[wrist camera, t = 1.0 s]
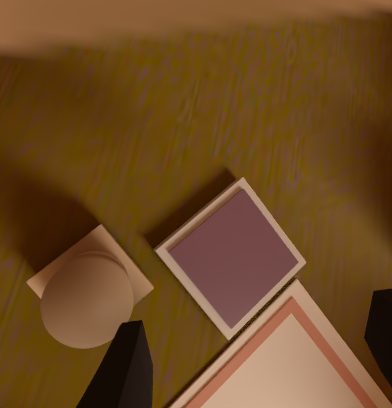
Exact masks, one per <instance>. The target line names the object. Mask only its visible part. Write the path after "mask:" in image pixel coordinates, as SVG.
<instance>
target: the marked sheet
mask: <svg viewBox="0 0 392 408" xmlns="http://www.w3.org/2000/svg"><path fill="white" fill-rule="evenodd" d="M168 408H392V404H391V403H390V402H389V400H388V399H387V398H386V396H385V395H384V394H383V392H382V391H381V390H380V388H379V387H378V386H377V384H376V383H375V382H374V380H373V379H372V378H371V376H370V375H369V374H368V372H367V371H366V370H365V368H364V367H363V366H362V364H361V363H360V362H359V360H358V359H357V358H356V356H355V355H354V354H353V352H352V351H351V350H350V349H349V347H348V346H347V345H346V343H345V342H344V341H343V339H342V338H341V337H340V335H339V334H338V333H337V331H336V330H335V329H334V327H333V326H332V325H331V323H330V322H329V321H328V319H327V318H326V317H325V315H324V314H323V313H322V311H321V310H320V309H319V307H318V306H317V305H316V303H315V302H314V301H313V299H312V298H311V297H310V295H309V294H308V293H307V291H306V290H305V289H304V287H303V286H302V285H301V284H300V282H299V281H298V280H297V279H295V280H294V281H293V282H292V283H291V284H290V285H289V286H288V287H287V288H286V289H285V290H284V291H283V292H282V293H281V294H280V295H279V296H278V297H277V298H276V299H275V300H274V301H273V302H272V303H271V304H270V305H269V306H268V307H267V308H266V309H265V310H264V311H263V312H262V313H261V314H260V315H259V316H258V317H257V318H256V319H255V320H254V321H253V322H252V323H251V324H250V325H249V326H248V327H247V328H246V329H245V330H244V331H243V332H242V333H241V335H240V336H239V337H238V338H237V339H236V340H235V341H234V342H233V343H232V344H231V345H230V346H229V347H228V348H227V349H226V350H225V351H224V352H223V353H222V354H221V355H220V356H219V357H218V358H217V359H216V360H215V361H214V362H213V363H212V364H211V365H210V366H209V367H208V368H207V369H206V370H205V371H204V372H203V373H202V374H201V375H200V376H199V377H198V378H197V379H196V380H195V381H194V382H193V383H192V384H191V385H190V386H189V387H188V388H187V389H186V390H185V391H184V392H183V393H182V394H181V395H180V396H179V397H178V398H177V399H176V400H175V401H174V402H173V403H172V404H171V405H170V406H169V407H168Z"/></svg>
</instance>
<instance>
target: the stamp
mask: <svg viewBox="0 0 392 408" xmlns="http://www.w3.org/2000/svg"><path fill="white" fill-rule="evenodd" d="M26 283H27V284H28V285H29V286H30V287H31V288H32V289H33V290H34V292H35V293H36V294H37V295H38V296H39V297H40V298H41V306H40V310H41V317H42V321H43V323H44V326H45V327H46V329H47V331H48V332H49V333H50V334H51V336H53V337H54V338H55V339H56V340H57V341H59V342H60V343H62V344H64V345H67V346H70V347H74V348H92V347H97V346H100V345H102V344H105V343H107V342H108V341H110V340H112V339H113V338H114V336H115V334H116V332H117V330H118V328H119V326H120V325H121V323H123V322H128V320H129V318H130V316H131V313H132V309H133V306H134V305H135V304H137V303H138V302H139V301H140V300H141V299H142V298H143V297H145V296H146V295H147V294H148V293H149V292H150V291H151V290H152V289H154V287H153V285H152V284H151V282H150V281H149V280H148V278H147V277H146V276H145V275H144V274H143V272H142V271H141V270H140V269H139V268H138V266H137V265H136V264H135V263H134V262H133V260H132V259H131V258H130V257H129V256H128V254H127V253H126V252H125V251H124V250H123V248H122V247H121V246H120V245H119V244H118V242H117V241H116V240H115V239H114V238H113V237H112V235H111V234H110V233H109V232H108V231H107V229H106V228H105V227H104V226H103V225H102V224H100V225H99V226H98V227H97V228H95V229H94V230H93V231H91V232H90V233H89V234H87V235H86V236H85V237H84V238H82V239H81V240H80V241H78V242H77V243H76V244H75V245H73V246H72V247H71V248H69V249H68V250H67V251H66V252H64V253H63V254H62V255H60V256H59V257H58V258H56V259H55V260H54V261H53V262H51V263H50V264H49V265H47V266H46V267H45V268H44V269H42V270H41V271H40V272H38V273H37V274H36V275H35V276H33V277H32V278H31V279H29V280H28V281H27V282H26Z"/></svg>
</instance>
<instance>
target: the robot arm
mask: <svg viewBox="0 0 392 408" xmlns="http://www.w3.org/2000/svg"><path fill="white" fill-rule="evenodd" d="M364 338H365V340H366V342H367V344H368V346H369V348H370V351H371V353H372V355H373V357H374V358H375V360H376V362H377V364H378V366H379V368H380V370H381V372H382V373H383V375H384V376H385V378H386V379H387V381H388V382H389V384H390V385H391V387H392V289H387V290H379V291H374V292H373V297H372V302H371V307H370V312H369V317H368V322H367V326H366V331H365V336H364ZM152 390H153V364H152V360H151V356H150V351H149V347H148V343H147V339H146V335H145V330H144V326H143V322H142V320H139V321H131V322H123V323H121V325H120V326H119V328H118V330H117V332H116V334H115V336H114V338H113V340H112V343H111V345H110V347H109V349H108V351H107V353H106V355H105V356H104V358H103V360H102V362H101V364H100V366H99V368H98V370H97V372H96V373H95V375H94V377H93V379H92V380H91V382H90V384H89V386H88V388H87V389H86V391H85V393H84V395H83V397H82V398H81V400H80V402H79V403H78V405H77V406H76V408H152Z"/></svg>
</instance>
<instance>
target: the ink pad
mask: <svg viewBox="0 0 392 408" xmlns="http://www.w3.org/2000/svg"><path fill="white" fill-rule="evenodd" d="M153 250H154V251H155V252H156V254H157V255H158V256H159V257H160V259H161V260H162V261H163V262H164V263H165V265H166V266H167V267H168V268H169V270H170V271H171V272H172V273H173V274H174V276H175V277H176V278H177V279H178V281H179V282H180V283H181V284H182V285H183V287H184V288H185V289H186V290H187V291H188V293H189V294H190V295H191V296H192V298H193V299H194V300H195V301H196V302H197V304H198V305H199V306H200V307H201V309H202V310H203V311H204V312H205V313H206V315H207V316H208V317H209V318H210V320H211V321H212V322H213V323H214V324H215V326H216V327H217V328H218V329H219V331H220V332H221V333H222V334H223V335H224V336H225V337H226V338H227V339H228V340H230V339H231V338H232V337H233V336H234V335H235V334H236V333H237V332H238V331H239V330H240V329H241V328H242V327H243V326H244V325H245V324H246V323H247V322H248V321H249V320H250V319H251V318H252V317H253V316H254V315H255V314H256V313H257V312H258V311H259V310H260V309H261V308H262V307H263V306H264V305H265V304H266V303H267V302H268V301H269V300H270V299H271V298H272V297H273V296H274V295H275V294H276V293H277V292H278V291H279V290H280V289H281V288H282V287H283V286H284V285H285V284H286V283H287V282H288V281H289V280H290V279H291V278H292V277H293V276H294V275H295V274H296V273H297V272H298V271H299V270H300V269H301V268H302V267H303V266H304V265H305V264H306V261H305V260H304V259H303V257H302V256H301V254H300V253H299V252H298V250H297V249H296V248H295V246H294V245H293V244H292V242H291V241H290V240H289V238H288V237H287V236H286V234H285V233H284V232H283V230H282V229H281V228H280V226H279V225H278V223H277V222H276V221H275V219H274V218H273V217H272V215H271V214H270V213H269V211H268V210H267V209H266V207H265V206H264V205H263V203H262V202H261V201H260V199H259V198H258V197H257V195H256V194H255V192H254V191H253V190H252V188H251V187H250V186H249V184H248V183H247V182H246V180H245V179H244V178H243V177H242V178H238V179H236V180H235V181H234V182H232V183H231V184H230V185H229V186H228V187H226V188H225V189H224V190H223V191H222V192H221V193H219V194H218V195H217V196H216V197H215V198H213V199H212V200H211V201H210V202H209V203H207V204H206V205H205V206H204V207H203V208H201V209H200V210H199V211H198V212H197V213H195V214H194V215H193V216H192V217H191V218H190V219H188V220H187V221H186V222H185V223H184V224H182V225H181V226H180V227H179V228H178V229H176V230H175V231H174V232H173V233H172V234H170V235H169V236H168V237H167V238H166V239H164V240H163V241H162V242H161V243H160V244H159V245H157V246H156V247H155V248H154V249H153Z"/></svg>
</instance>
